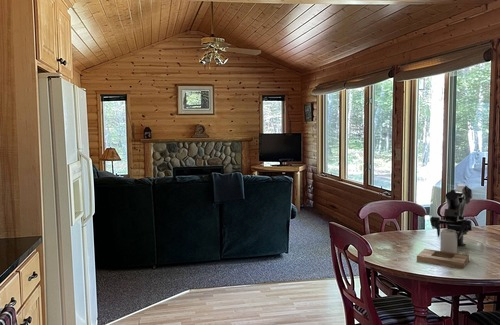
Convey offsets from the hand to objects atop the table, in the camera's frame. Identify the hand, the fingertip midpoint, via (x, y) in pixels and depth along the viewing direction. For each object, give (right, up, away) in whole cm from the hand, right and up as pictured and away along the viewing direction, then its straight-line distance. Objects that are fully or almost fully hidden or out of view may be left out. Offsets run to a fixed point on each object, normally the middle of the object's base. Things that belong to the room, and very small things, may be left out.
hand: (448, 237), depth 208 cm
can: (+1, -9, +2) cm, 9 cm away
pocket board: (-6, -9, -8) cm, 14 cm away
